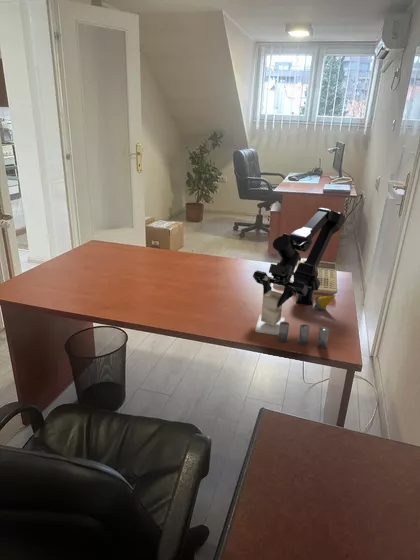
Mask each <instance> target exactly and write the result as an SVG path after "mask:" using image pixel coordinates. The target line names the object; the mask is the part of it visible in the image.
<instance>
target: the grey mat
mask: <svg viewBox="0 0 420 560" xmlns="http://www.w3.org/2000/svg"><path fill="white" fill-rule="evenodd" d="M261 315H262V313H261V314H259V315H258V316H259V317H258V320H257V323H256V326H255V331H254V332H255V333H260V334H261V333H262V334H267V335H274V336H279V326H280V322H285V321H286V320H285V319H286V318H285V317H284V316H283V317H282V316H281V320H280V321H279V322H277V323H276V324H275V325H271V324H268V323H266V322H263V321H261Z"/></svg>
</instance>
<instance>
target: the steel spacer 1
mask: <svg viewBox="0 0 420 560" xmlns="http://www.w3.org/2000/svg"><path fill="white" fill-rule="evenodd" d="M289 329H290V323H289V322H287V321H284V322H280V326H279V335H277V336H278V337H277V341H279V342H280V343H287V342H288V338H289Z"/></svg>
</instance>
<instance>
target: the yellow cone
mask: <svg viewBox="0 0 420 560" xmlns="http://www.w3.org/2000/svg"><path fill="white" fill-rule="evenodd" d="M335 297H336V295H335V294H334V295H325V296H320V295H319V296H316V297H315V299H314V301H315V302H314V303H315V304H314V306H313V307H314V309H316V310H317V311H318V310H322V311H324V310H326V309H327V306H328V305H329V304H330V303H331V302H332V300H333V299H334V298H335Z"/></svg>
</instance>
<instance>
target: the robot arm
mask: <svg viewBox="0 0 420 560" xmlns="http://www.w3.org/2000/svg"><path fill="white" fill-rule="evenodd" d="M345 221H346V216H345V215H344V212H340V211H335V210H332V209H330V208H326V207H319V208H318V209H317V211H316V213H315V214H314V215H313V216H312V217H311V218H310V220H308V221H307V222H306V224H305V225H303V227H301V228H298V229H295V230H294V231H292V232H291V233H290V234H288V233H283V234H282V235H281V236H278V237H276V238H275V239H273V242H272V248H273V249H274V251H275V252H276V254H277V255H278V257H279V258H280V260H279V262H277V263H270V266H269V269H268V273H269V274H270V275H271V276H269V275H268V274H267V272H266V271H262V270H258V269H257V270H256V271H254V272H253V275H252V278H253V279H254V280H255V282H256V283H257V284H259V285H262V287H263V288H262V291H263V293H262V295H264V294H265V293H267V292H268V291H270V290H272V289H273V287H272V286H271V285H272V284H274V285H277V286H280V287H284V289H283V292H282V296H281V298H280V300H279V302H278V305H277V307H280V306H281V305H282V306H283V304H285V302H287V301H288V300H289V299H290V298H292V297H293V296H296V301H295V302H296V303H297V304H303V305H304V304H305V305H314V291H318V290H319V289H320V286H321V282H320V280H319V278H318V276H319V269H318V266H319V264H320V262H321V260H322V257H323V256H324V254H325V251H326V249H327V248H328V245H329V243H330V241H331V239H332V237H333V235H334V234H336V233H337V232H338V231H340V229H341V228H342V226H343V225H344V224H345ZM317 233H318V235H317V237H316V239H315V241H314V243H313V238H314V237H315V235H316V234H317ZM312 244H313V245H312ZM311 246H312V247H311ZM310 247H311V249H310ZM309 249H310V252H309V253H308V255H307V258H306V260H305V261H304V262H299V261H302V259H301V258H302V257H301V254H300V252H304V253H305V252H307V251H308V250H309ZM299 251H300V252H299ZM298 262H299V263H298ZM292 277H293V281H292V282H290V281H291V280H292Z"/></svg>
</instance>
